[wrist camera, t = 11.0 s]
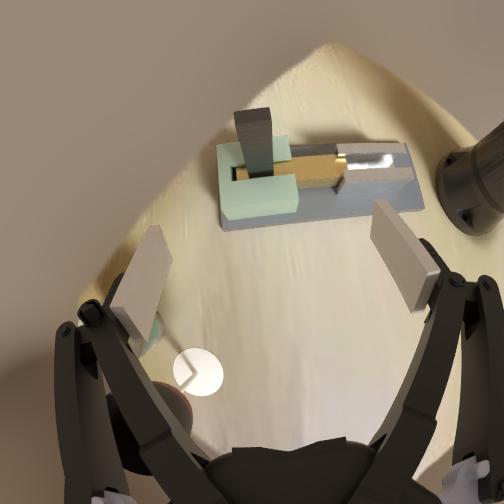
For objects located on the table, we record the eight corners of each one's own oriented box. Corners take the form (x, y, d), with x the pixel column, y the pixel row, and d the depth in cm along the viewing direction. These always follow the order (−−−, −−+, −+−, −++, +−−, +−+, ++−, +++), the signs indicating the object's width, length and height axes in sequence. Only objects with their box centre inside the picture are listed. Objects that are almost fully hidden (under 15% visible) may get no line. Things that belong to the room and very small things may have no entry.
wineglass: (237, 384, 34) (200, 467, 15) (186, 404, 35) (122, 479, 15) (209, 336, 36) (142, 381, 16) (160, 359, 36) (73, 406, 16)
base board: (402, 147, 37) (405, 143, 35) (420, 210, 35) (424, 208, 34) (218, 161, 39) (216, 156, 38) (224, 231, 37) (222, 229, 36)
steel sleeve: (390, 159, 35) (403, 143, 30) (399, 190, 34) (414, 177, 29) (329, 161, 36) (336, 143, 31) (336, 195, 35) (345, 181, 30)
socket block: (286, 154, 37) (287, 135, 32) (296, 212, 35) (299, 199, 30) (223, 162, 37) (216, 144, 32) (228, 220, 36) (220, 209, 31)
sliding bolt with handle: (339, 164, 35) (370, 96, 20) (344, 185, 34) (381, 124, 19) (238, 174, 36) (215, 107, 21) (241, 196, 35) (217, 136, 20)
